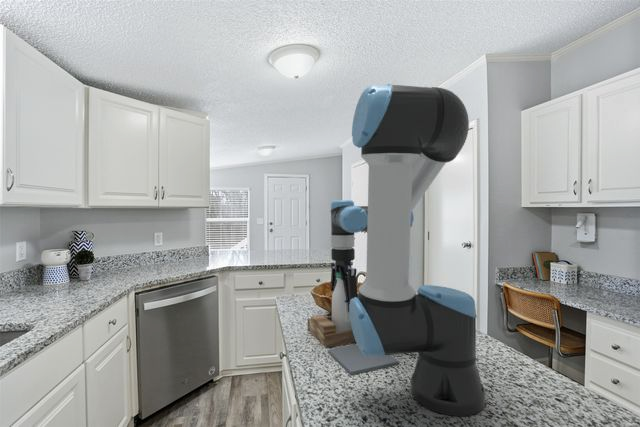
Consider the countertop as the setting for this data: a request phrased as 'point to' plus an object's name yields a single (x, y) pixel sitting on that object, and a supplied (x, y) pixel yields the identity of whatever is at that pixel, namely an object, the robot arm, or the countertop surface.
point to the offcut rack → (329, 332)
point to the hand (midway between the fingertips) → (343, 317)
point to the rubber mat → (360, 360)
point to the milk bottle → (339, 306)
